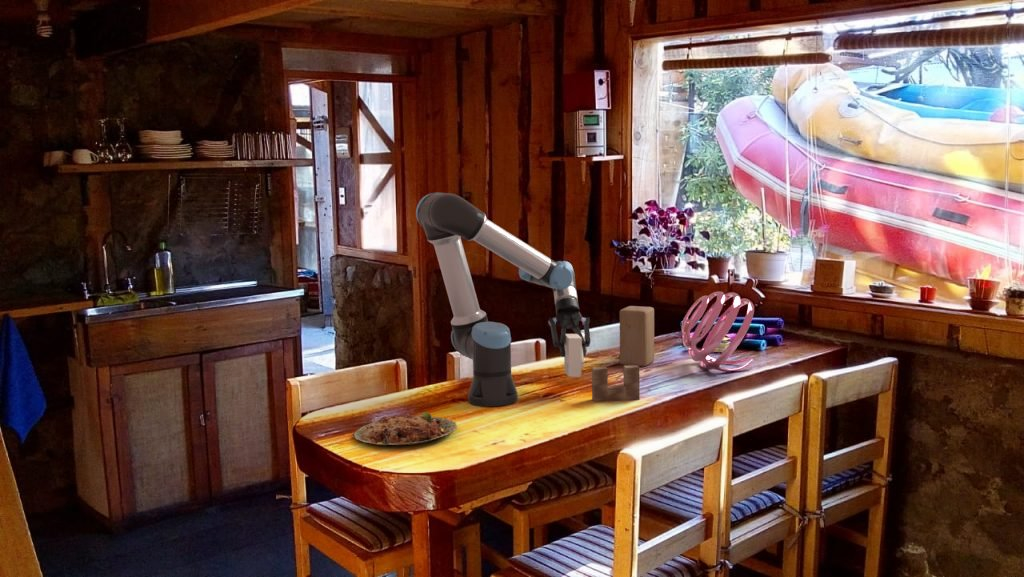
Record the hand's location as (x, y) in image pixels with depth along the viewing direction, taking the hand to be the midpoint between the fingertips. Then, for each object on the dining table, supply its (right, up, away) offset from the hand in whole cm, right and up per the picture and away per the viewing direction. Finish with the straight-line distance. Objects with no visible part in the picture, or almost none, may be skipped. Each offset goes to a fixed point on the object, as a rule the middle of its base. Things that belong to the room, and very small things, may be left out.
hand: (574, 364), depth 270 cm
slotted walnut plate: (+12, -10, -3) cm, 16 cm away
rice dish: (-48, -17, -32) cm, 60 cm away
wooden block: (+25, -4, +44) cm, 51 cm away
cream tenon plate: (0, -3, +4) cm, 5 cm away
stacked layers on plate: (+59, -1, +60) cm, 84 cm away
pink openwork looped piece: (+52, -4, +34) cm, 62 cm away
